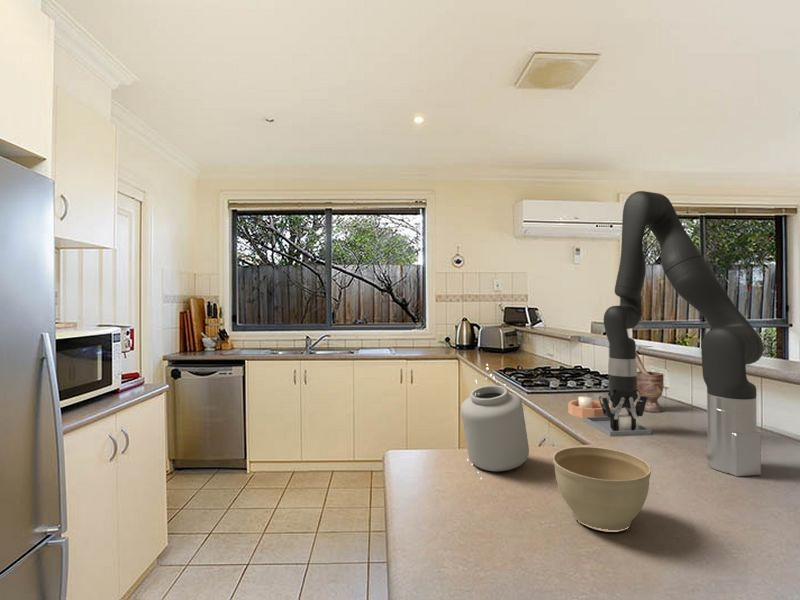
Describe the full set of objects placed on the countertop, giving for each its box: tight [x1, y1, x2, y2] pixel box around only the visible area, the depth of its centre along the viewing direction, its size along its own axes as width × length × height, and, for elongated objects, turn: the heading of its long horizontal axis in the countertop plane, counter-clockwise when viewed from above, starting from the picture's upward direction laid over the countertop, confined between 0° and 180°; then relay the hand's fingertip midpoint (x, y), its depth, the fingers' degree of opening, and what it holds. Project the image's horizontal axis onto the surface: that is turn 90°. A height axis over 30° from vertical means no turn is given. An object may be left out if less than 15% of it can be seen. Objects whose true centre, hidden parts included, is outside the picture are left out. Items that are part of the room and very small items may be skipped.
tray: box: [583, 416, 652, 437], centre depth 131 cm, size 15×12×2 cm
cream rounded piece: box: [618, 412, 632, 431], centre depth 128 cm, size 4×4×5 cm
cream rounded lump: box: [577, 395, 593, 408], centre depth 149 cm, size 4×4×5 cm
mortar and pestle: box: [636, 352, 664, 413], centre depth 155 cm, size 12×9×20 cm
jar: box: [460, 363, 530, 480], centre depth 105 cm, size 19×15×25 cm
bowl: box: [567, 399, 611, 419], centre depth 147 cm, size 13×13×4 cm
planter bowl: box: [552, 446, 652, 530], centre depth 79 cm, size 16×16×11 cm
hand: (623, 430), depth 128 cm, fingers closed on cream rounded piece, 4 cm apart
